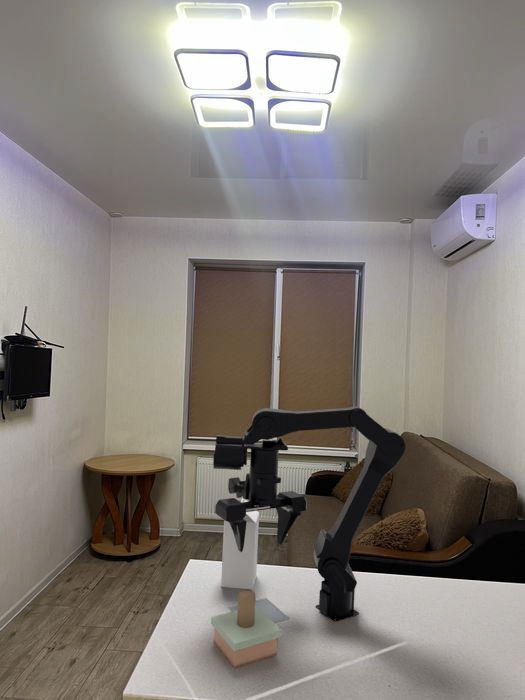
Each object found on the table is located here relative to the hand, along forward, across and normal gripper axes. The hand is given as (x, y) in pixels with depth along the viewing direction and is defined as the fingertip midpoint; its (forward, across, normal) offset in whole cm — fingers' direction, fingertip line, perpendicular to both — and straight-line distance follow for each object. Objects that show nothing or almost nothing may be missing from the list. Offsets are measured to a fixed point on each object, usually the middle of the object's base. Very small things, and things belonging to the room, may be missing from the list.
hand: (260, 547), depth 98 cm
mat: (+12, +1, +2) cm, 13 cm away
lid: (+9, +9, +11) cm, 17 cm away
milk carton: (+13, -2, -12) cm, 18 cm away
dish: (+12, +9, +11) cm, 19 cm away
